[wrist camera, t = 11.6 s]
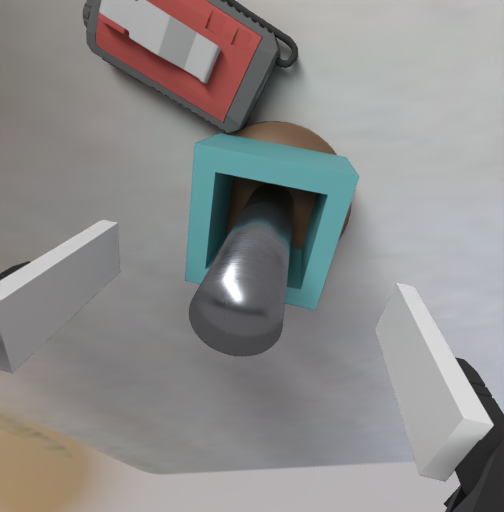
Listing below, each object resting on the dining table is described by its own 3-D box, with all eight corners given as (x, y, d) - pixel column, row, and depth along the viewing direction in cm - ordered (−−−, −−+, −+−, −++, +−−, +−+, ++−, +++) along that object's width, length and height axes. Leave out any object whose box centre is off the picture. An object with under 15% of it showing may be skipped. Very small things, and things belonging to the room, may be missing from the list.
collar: (221, 132, 22) (194, 143, 17) (345, 157, 22) (359, 175, 16) (209, 244, 26) (184, 280, 21) (313, 266, 26) (315, 310, 21)
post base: (208, 107, 23) (202, 108, 22) (370, 138, 22) (374, 140, 21) (196, 249, 29) (191, 257, 27) (325, 277, 28) (326, 286, 26)
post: (252, 179, 23) (192, 270, 11) (299, 188, 23) (291, 292, 11) (244, 223, 25) (186, 344, 13) (288, 232, 25) (272, 365, 12)
